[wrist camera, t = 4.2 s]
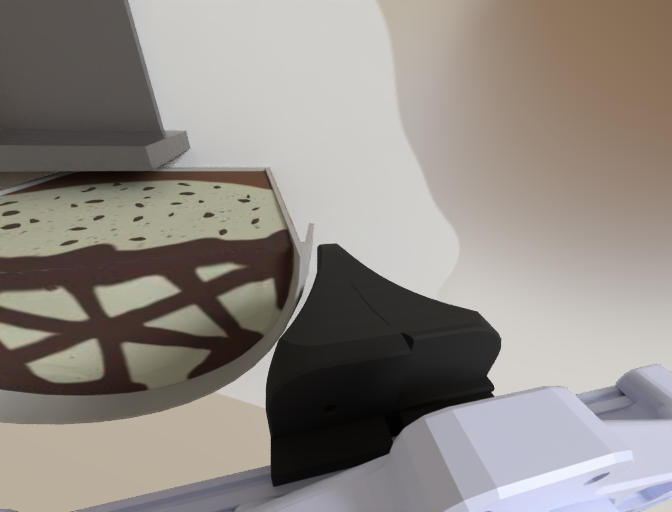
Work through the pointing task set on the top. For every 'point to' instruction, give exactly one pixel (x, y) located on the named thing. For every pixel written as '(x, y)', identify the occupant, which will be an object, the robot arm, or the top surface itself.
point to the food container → (140, 288)
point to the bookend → (77, 90)
